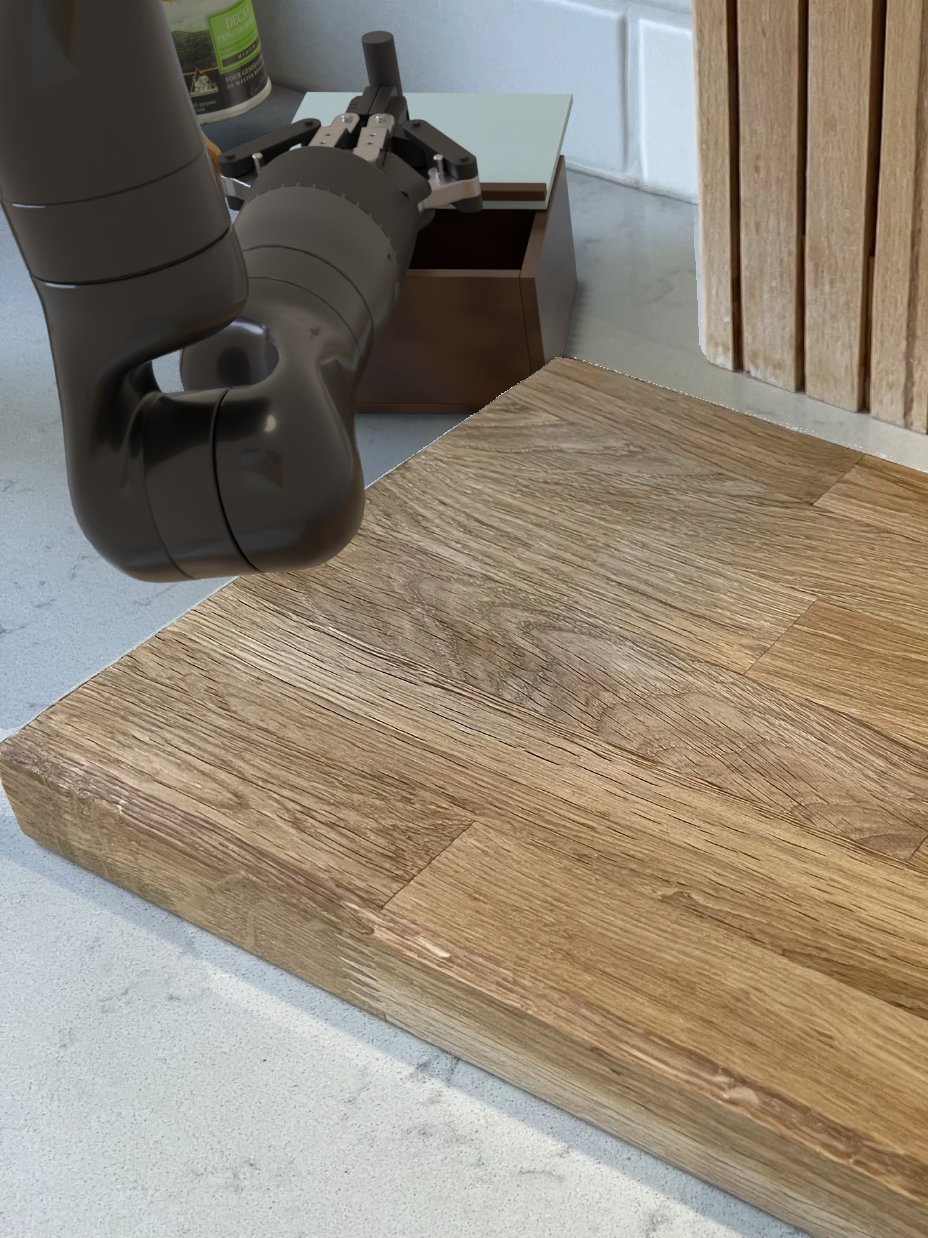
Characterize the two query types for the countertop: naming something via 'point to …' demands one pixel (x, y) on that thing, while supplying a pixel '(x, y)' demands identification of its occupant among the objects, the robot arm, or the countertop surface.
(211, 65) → the coffee can
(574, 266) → the case
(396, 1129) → the countertop surface
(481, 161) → the glass door
